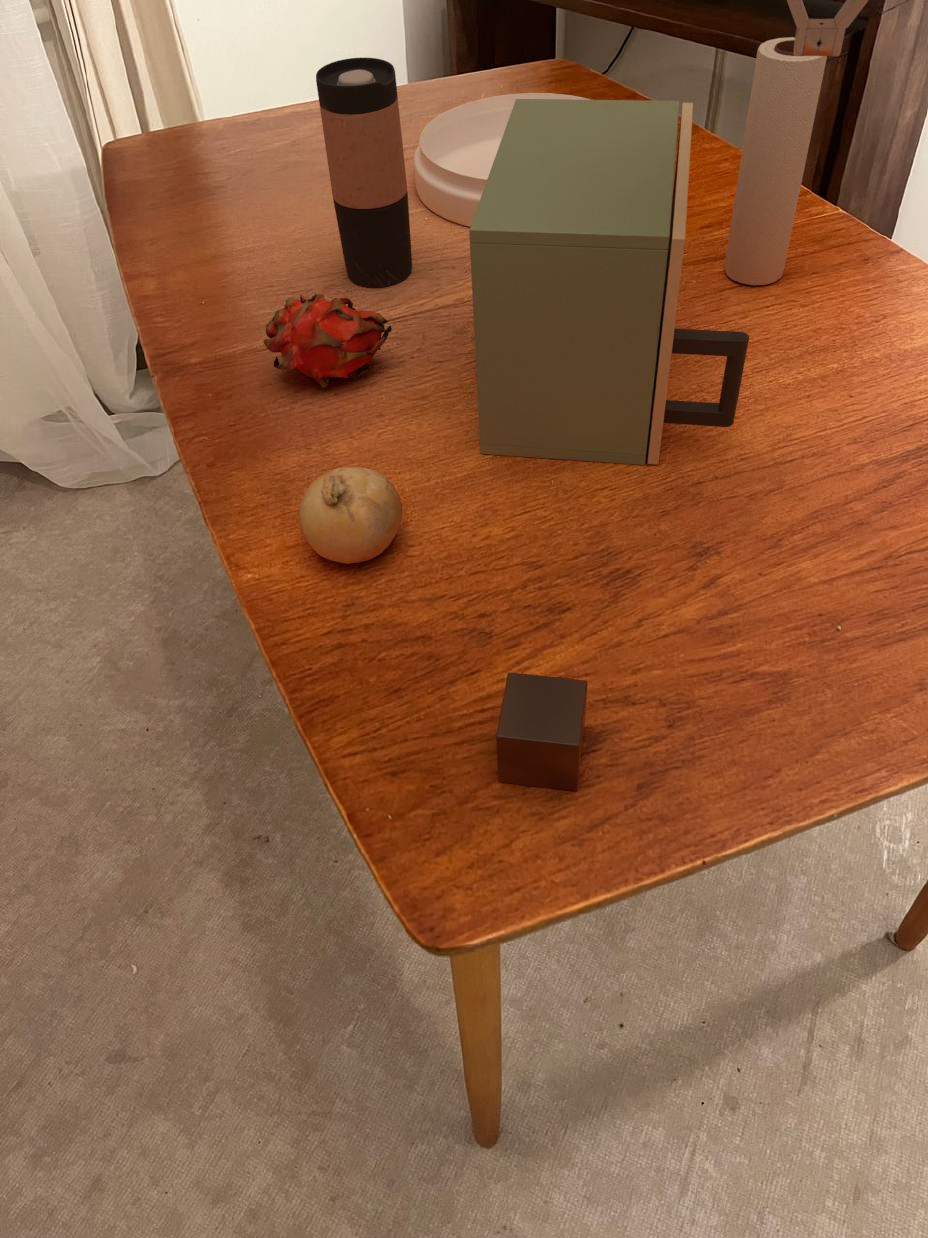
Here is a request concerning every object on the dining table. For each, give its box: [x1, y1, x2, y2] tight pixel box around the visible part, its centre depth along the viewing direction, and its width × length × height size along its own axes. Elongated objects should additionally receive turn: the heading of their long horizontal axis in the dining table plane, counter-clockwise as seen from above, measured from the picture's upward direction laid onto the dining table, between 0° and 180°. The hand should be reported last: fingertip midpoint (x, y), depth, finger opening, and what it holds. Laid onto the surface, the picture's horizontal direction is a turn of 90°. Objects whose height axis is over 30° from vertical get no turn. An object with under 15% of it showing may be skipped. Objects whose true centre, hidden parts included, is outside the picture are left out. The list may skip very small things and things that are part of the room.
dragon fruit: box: [262, 293, 393, 388], centre depth 91 cm, size 8×8×12 cm
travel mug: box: [315, 57, 413, 288], centre depth 99 cm, size 8×8×20 cm
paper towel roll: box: [723, 36, 828, 286], centre depth 94 cm, size 7×6×21 cm
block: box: [495, 672, 589, 792], centre depth 61 cm, size 5×5×5 cm
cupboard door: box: [647, 102, 750, 465], centre depth 82 cm, size 7×24×20 cm, turn 170°
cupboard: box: [468, 99, 681, 466], centre depth 84 cm, size 14×24×20 cm, turn 170°
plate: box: [413, 92, 593, 228], centre depth 117 cm, size 27×27×6 cm
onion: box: [298, 466, 403, 565], centre depth 75 cm, size 8×8×7 cm
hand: (816, 53), depth 65 cm, fingers closed
